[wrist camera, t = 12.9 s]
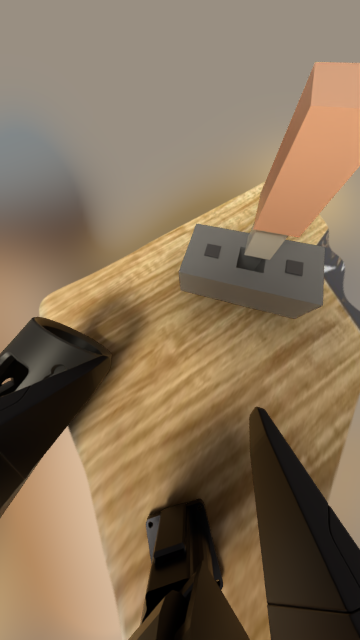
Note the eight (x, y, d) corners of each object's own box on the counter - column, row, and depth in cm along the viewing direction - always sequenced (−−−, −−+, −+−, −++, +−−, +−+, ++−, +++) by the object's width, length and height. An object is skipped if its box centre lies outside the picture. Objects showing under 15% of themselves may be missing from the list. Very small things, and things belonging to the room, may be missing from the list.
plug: (273, 267, 17) (405, 111, 7) (238, 260, 18) (310, 105, 7) (278, 235, 19) (394, 63, 8) (245, 229, 19) (315, 61, 9)
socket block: (294, 318, 22) (324, 304, 17) (180, 290, 25) (178, 271, 20) (298, 270, 25) (325, 245, 20) (195, 248, 27) (196, 222, 22)
